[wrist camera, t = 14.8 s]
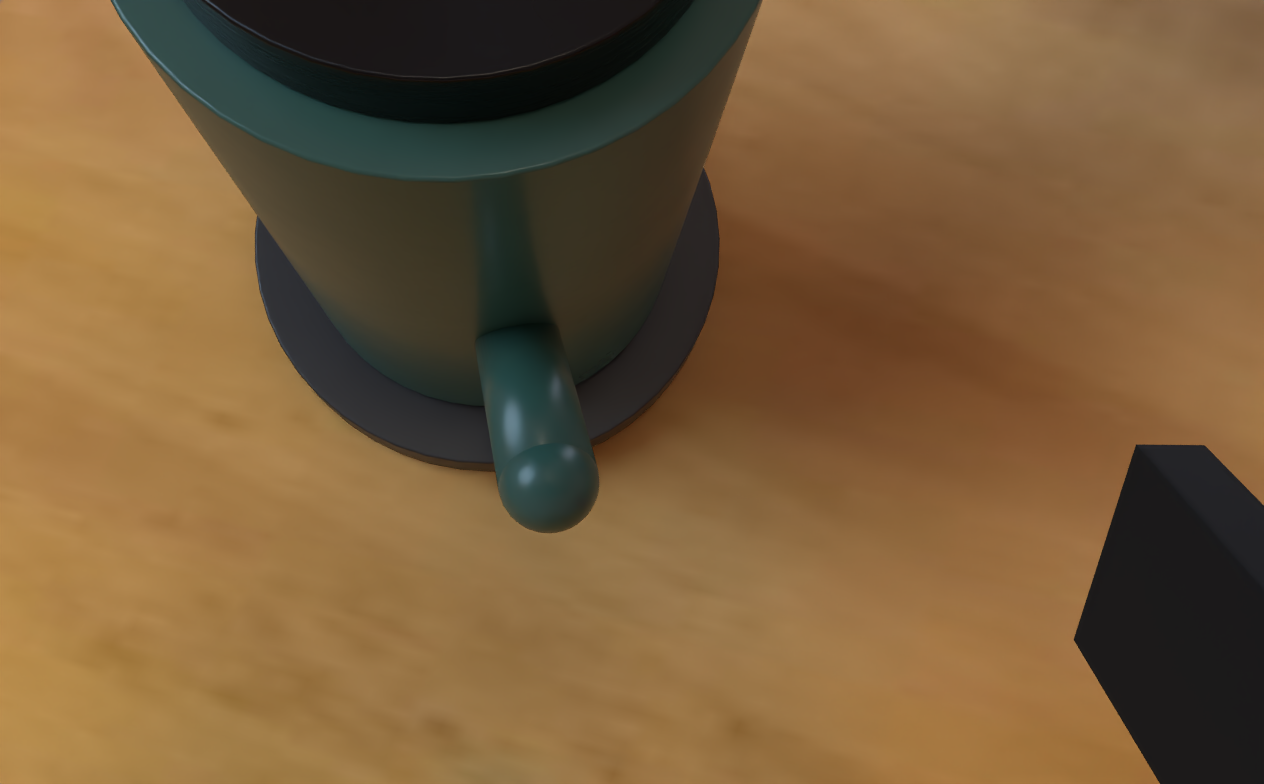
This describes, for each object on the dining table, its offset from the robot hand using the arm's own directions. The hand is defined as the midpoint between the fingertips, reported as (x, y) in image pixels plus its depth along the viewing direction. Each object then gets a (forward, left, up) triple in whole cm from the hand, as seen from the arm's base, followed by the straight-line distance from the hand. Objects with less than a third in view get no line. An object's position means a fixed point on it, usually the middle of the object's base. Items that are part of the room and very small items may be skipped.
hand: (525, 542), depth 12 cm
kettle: (+1, -10, -17) cm, 20 cm away
